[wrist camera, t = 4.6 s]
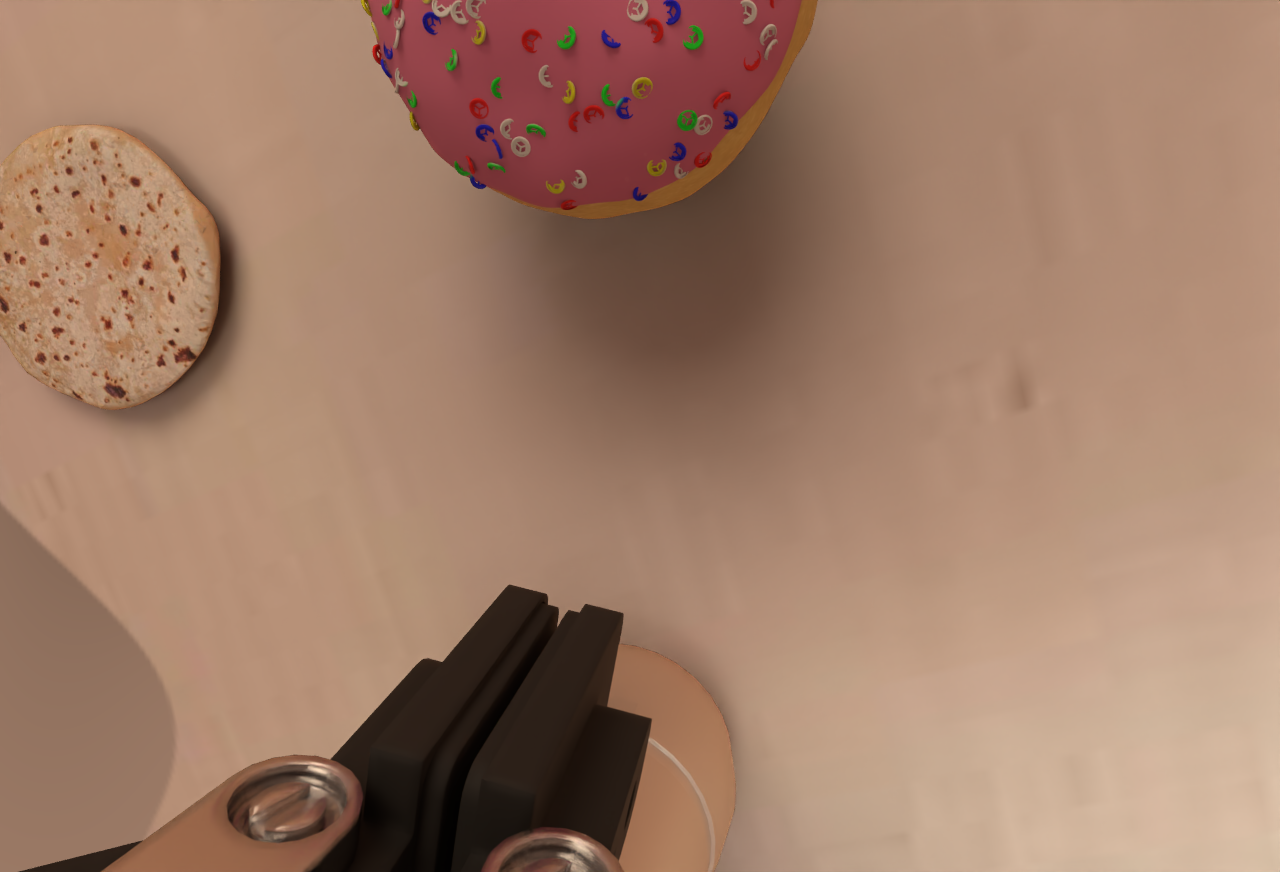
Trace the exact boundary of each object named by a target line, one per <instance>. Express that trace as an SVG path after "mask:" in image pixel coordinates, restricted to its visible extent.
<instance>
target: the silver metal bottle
mask: <svg viewBox="0 0 1280 872" xmlns="http://www.w3.org/2000/svg"><path fill="white" fill-rule="evenodd" d="M607 707H611V708H615V709H618V710H622V711H626V712H629V713H633V714H637V715H641V716H644V717H648V718H652V724H651V730H650V735H649V740H648V745H647V750H646V755H645V760H644V764H643V769H642V774H641V778H640V783H639V787H638V792H637V796H636V800H635V804H634V808H633V812H632V816H631V820H630V824H629V828H628V831H627V835H626V838H625V842H624V845H623V849H622V852H621V856H620V859H619V863H620V865H621V867H622V869H623V871H624V872H714V871H715V869H716V866H717V864H718V861H719V858H720V855H721V852H722V849H723V846H724V843H725V840H726V836H727V833H728V830H729V827H730V823H731V820H732V817H733V813H734V810H735V796H736V781H735V774H734V766H733V758H732V751H731V744H730V738H729V733H728V730H727V727H726V725H725V722H724V719H723V717H722V714H721V712H720V710H719V709H718V707H717V705H716V704H715V702H714V701H713V699H712V697H711V696H710V694H709V693H708V692H707V691H706V690H705V688H704V687H703V686H702V685H701V684H700V683H699V682H698V681H697V679H696V678H695V677H693V676H692V675H691V674H690V673H688V672H687V671H686V670H685V669H683V668H682V667H681V666H679V665H678V664H677V663H675V662H673V661H671V660H669V659H668V658H666V657H664V656H662V655H660V654H658V653H656V652H653V651H650V650H647V649H644V648H640V647H637V646H633V645H625V644H619V646H618V652H617V657H616V662H615V668H614V673H613V678H612V683H611V689H610V694H609V699H608V705H607Z"/></svg>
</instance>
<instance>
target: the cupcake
mask: <svg viewBox="0 0 1280 872" xmlns="http://www.w3.org/2000/svg"><path fill="white" fill-rule="evenodd" d="M817 1H818V0H361V4H362V6H363V8H364V10H365V11H366V13H367V14H368V15H369V16H371V19H372V22H371V25H372V27H373V30H374V32H375V34H376V38H377V42H378V44H376V45H374V47H373V51H372V52H373V57H374V59H375V60H376V62H377V63H378V64H380V65H381V66H382V69H383V70H384V72H385V74H386V75H387V76H388V77H389V79H390V80H391V82H392V84H393V86H394V87H395V93H399V95H400V97H401V98H402V100H403V101H404V103H405V105H406V106H407V108H408V109H409V111H410V122H411V125H412V127H413V129H414V130H416V131H418V130H419V129H421V131H422V132H423V134H424V136H425V137H426V139H427V140H428V142H429V144H430V145H431V147H432V148H433V149H434V151H435V152H436V153H437V154H438V155H439V156H440V157H441V158H442V159H444V160H445V161H446V162H447V163H449V164H450V165H451V166H452V167H454V168H455V169H456V170H457V172H458V173H460V174H461V175H463V176H467V177H469V178H470V181H471V183H472V185H473V186H474V187H476V188H478V189H483V188H485V187H486V186H487V187H489V188H491V189H492V190H494V191H496V192H498V193H501V194H502V195H504V196H506V197H508V198H510V199H512V200H514V201H516V202H519V203H521V204H524V205H526V206H530V207H533V208H536V209H540V210H544V211H548V212H553V213H557V214H562V215H567V216H572V217H578V218H585V219H600V218H609V217H615V216H620V215H624V214H629V213H634V212H640V211H646V210H651V209H655V208H659V207H663V206H666V205H669V204H672V203H675V202H677V201H680V200H682V199H684V198H686V197H688V196H690V195H692V194H693V193H695V192H696V191H698V190H699V189H701V188H702V187H703V186H704V185H706V184H707V183H708V182H710V181H711V180H712V179H713V178H715V177H716V176H717V175H718V174H720V173H721V172H722V171H723V170H724V169H725V168H726V167H727V166H728V165H729V164H730V163H731V162H732V161H733V160H734V159H735V158H736V156H737V155H738V154H739V153H740V151H741V150H742V149H743V148H744V146H745V145H746V144H747V143H748V141H749V140H750V139H751V137H752V136H753V134H754V133H755V132H756V130H757V129H758V127H759V125H760V124H761V122H762V121H763V119H764V117H765V116H766V114H767V112H768V110H769V108H770V106H771V105H772V103H773V101H774V99H775V97H776V95H777V93H778V91H779V89H780V87H781V85H782V83H783V81H784V79H785V77H786V75H787V73H788V71H789V69H790V67H791V65H792V63H793V61H794V59H795V58H796V56H797V54H798V53H799V51H800V50H801V48H802V47H803V45H804V43H805V41H806V40H807V38H808V35H809V33H810V30H811V27H812V24H813V20H814V16H815V11H816V6H817ZM365 2H366V4H367V6H368V7H366V4H365ZM369 10H370V11H369ZM379 50H380V52H379ZM377 52H378V53H379V55H380V56H379V57H378V56H377ZM381 57H382V59H381ZM413 119H414V121H413ZM416 122H417V125H416ZM475 181H476V182H478V184H477V183H476V182H475Z"/></svg>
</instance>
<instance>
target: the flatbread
mask: <svg viewBox="0 0 1280 872" xmlns="http://www.w3.org/2000/svg"><path fill="white" fill-rule="evenodd" d="M219 293H220V239H219V233H218V229H217V225H216V223H215V221H214V218H213V216H212V214H211V213H210V212H209V210H208V209H207V208H206V207H205V206H204V205H203V204H202V203H201V202H200V201H199V200H198V199H197V198H196V197H195V196H194V195H193V194H192V193H191V192H190V190H189V189H188V188H187V187H186V186H185V184H184V183H183V182H182V181H181V179H180V178H179V177H178V176H177V175H176V174H175V173H174V172H173V171H172V169H171V168H170V167H169V166H168V165H167V164H166V163H165V162H164V161H163V160H162V159H160V158H159V157H158V156H157V155H156V154H155V153H154V152H153V151H151V150H150V149H149V148H148V147H147V146H146V145H145V144H143V143H142V142H141V141H139V140H138V139H137V138H135V137H133V136H131V135H129V134H128V133H126V132H123V131H121V130H119V129H116V128H113V127H108V126H101V125H71V126H56V127H53V128H50V129H47V130H45V131H42V132H40V133H37V134H35V135H33V136H31V137H29V138H28V139H27V140H25V141H24V142H23V143H21V144H20V145H19V146H18V147H17V148H16V149H15V150H14V151H13V152H12V153H11V154H10V155H9V156H8V157H7V158H6V159H5V161H4V162H3V163H2V164H1V166H0V335H1V337H2V338H3V339H4V341H5V342H6V344H7V345H8V346H9V348H10V350H11V352H12V354H13V355H14V357H15V358H16V359H17V360H18V362H19V363H20V364H21V365H22V367H23V368H24V369H25V370H26V372H27V373H28V374H30V375H32V376H33V377H35V378H36V379H37V380H39V381H40V382H42V383H44V384H45V385H47V386H49V387H51V388H53V389H55V390H58V391H59V392H61V393H63V394H66V395H69V396H71V397H73V398H75V399H78V400H81V401H83V402H86V403H88V404H91V405H93V406H95V407H99V408H102V409H108V410H117V409H124V408H129V407H134V406H137V405H139V404H142V403H144V402H146V401H148V400H150V399H151V398H153V397H155V396H157V395H159V394H161V393H162V392H164V391H165V390H166V389H168V388H169V387H170V386H171V385H172V384H174V383H175V382H176V381H177V380H178V379H180V378H181V377H182V376H183V375H184V373H185V372H186V371H187V370H188V369H189V368H190V367H191V366H192V365H193V363H194V362H195V360H196V359H197V358H198V356H199V355H200V354H201V352H202V351H203V349H204V348H205V345H206V343H207V340H208V338H209V336H210V334H211V332H212V328H213V325H214V321H215V318H216V315H217V309H218V302H219Z"/></svg>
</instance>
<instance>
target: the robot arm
mask: <svg viewBox="0 0 1280 872" xmlns="http://www.w3.org/2000/svg"><path fill="white" fill-rule="evenodd" d="M558 615H559V609H558V607H555V606H551V605H548V596H547V594H545V593H541V592H537V591H533V590H529V589H525V588H521V587H517V586H513V585H508V586H507V587H506V588H505V589H504V590H503V592H502V593H501V594H500V595H499V596H498V597H497V599H496V600H495V601H494V602H493V603H492V605H491V606H490V607H489V608H488V609H487V610H486V612H485V613H484V614H483V615H482V616H481V617H480V619H479V620H478V621H477V622H476V623H475V625H474V626H473V627H472V628H471V629H470V630H469V632H468V633H467V634H466V635H465V636H464V637H463V639H462V640H461V641H460V642H459V643H458V644H457V646H456V647H455V648H454V649H453V650H452V652H451V653H450V654H449V655H448V656H447V657H446V659H445V660H444V661H443V662H440V661H436V660H432V659H429V658H428V659H423V660H421V661H420V662H419V663H418V664H417V665H416V666H415V667H414V668H413V669H412V670H411V671H410V672H409V674H408V675H407V676H406V677H405V678H404V679H403V680H402V681H401V682H400V684H399V685H398V686H397V687H396V688H395V689H394V690H393V691H392V692H391V693H390V695H389V696H388V697H387V698H386V699H385V700H384V701H383V702H382V703H381V704H380V706H379V707H378V708H377V709H376V710H375V711H374V712H373V713H372V714H371V715H370V717H369V718H368V719H367V720H366V721H365V722H364V723H363V724H362V725H361V726H360V728H359V729H358V730H357V731H356V732H355V733H354V734H353V735H352V736H351V738H350V739H349V740H348V741H347V742H346V743H345V744H344V745H343V746H342V747H341V749H340V750H339V751H338V752H337V753H336V754H335V755H334V756H333V757H332V758H331V760H329V759H326V758H322V757H319V756H307V755H290V756H283V757H275V758H271V759H268V760H265V761H262V762H259V763H256V764H252V765H250V766H249V767H247V768H245V769H243V770H242V771H240V772H238V773H236V774H234V775H233V776H231V777H230V778H229V779H227V780H226V781H224V782H223V783H222V784H220V785H219V786H218V787H216V788H215V789H214V790H212V791H211V792H209V793H208V794H207V795H205V796H204V797H203V798H201V799H200V800H198V801H197V802H196V803H194V804H193V805H192V806H190V807H189V808H187V809H186V810H185V811H183V812H182V813H181V814H179V815H178V816H176V817H175V818H174V819H172V820H171V821H170V822H168V823H167V824H165V825H164V826H163V827H161V828H160V829H159V830H157V831H156V832H154V833H153V834H152V835H150V836H149V837H148V838H146V839H145V840H143V841H139V842H135V843H131V844H127V845H123V846H120V847H115V848H111V849H107V850H104V851H99V852H96V853H91V854H87V855H84V856H79V857H75V858H72V859H67V860H63V861H59V862H55V863H52V864H48V865H44V866H40V867H36V868H32V869H28V870H24V871H20V872H624V871H623V869H622V867H621V865H620V863H619V859H620V856H621V852H622V849H623V845H624V842H625V838H626V835H627V831H628V828H629V824H630V820H631V816H632V812H633V808H634V804H635V800H636V796H637V792H638V787H639V783H640V778H641V774H642V769H643V764H644V760H645V755H646V750H647V745H648V740H649V735H650V730H651V724H652V718H648V717H644V716H641V715H637V714H633V713H629V712H626V711H622V710H618V709H615V708H611V707H607V705H608V699H609V694H610V689H611V683H612V678H613V673H614V668H615V662H616V657H617V652H618V646H619V641H620V636H621V630H622V625H623V613H620V612H616V611H612V610H608V609H604V608H600V607H596V606H592V605H588V604H585V605H584V607H583V608H582V610H581V612H580V613H578V612H574V611H570V610H568V612H567V613H566V614H565V616H564V618H563V619H562V621H561V622H560V624H559V626H558V627H557V622H558Z"/></svg>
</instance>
